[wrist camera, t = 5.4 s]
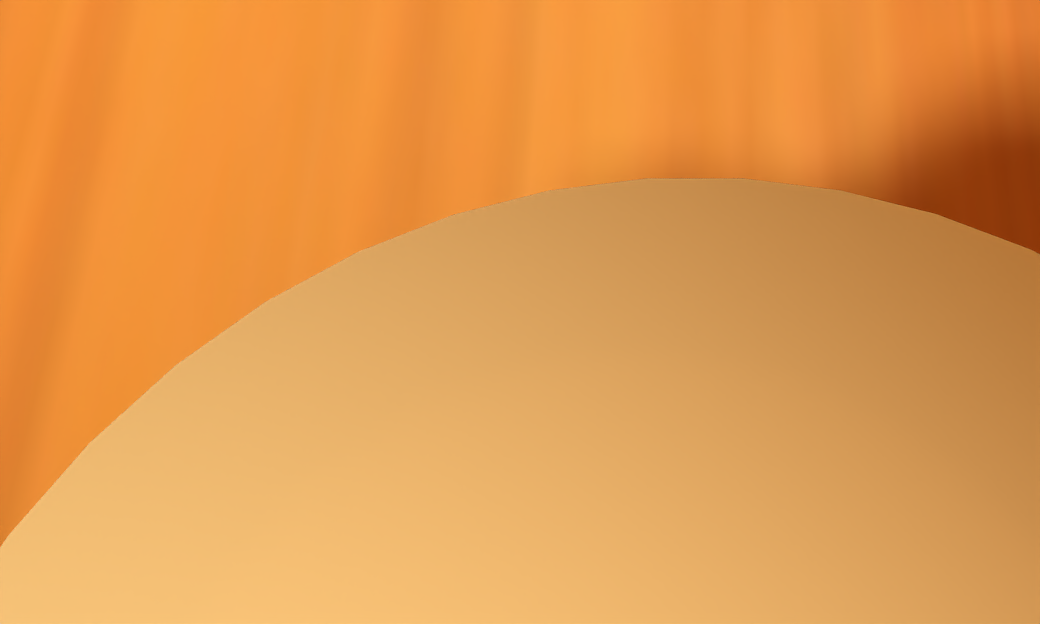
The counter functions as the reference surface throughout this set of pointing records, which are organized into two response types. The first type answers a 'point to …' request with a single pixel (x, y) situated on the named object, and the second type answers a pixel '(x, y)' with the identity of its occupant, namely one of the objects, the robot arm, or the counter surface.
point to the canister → (584, 430)
